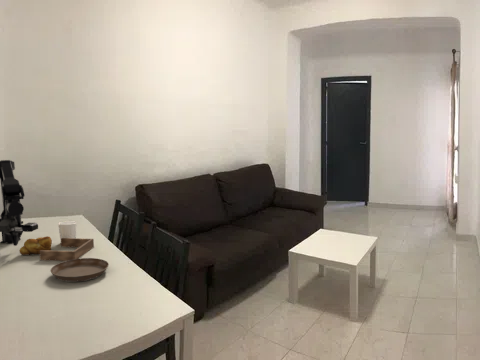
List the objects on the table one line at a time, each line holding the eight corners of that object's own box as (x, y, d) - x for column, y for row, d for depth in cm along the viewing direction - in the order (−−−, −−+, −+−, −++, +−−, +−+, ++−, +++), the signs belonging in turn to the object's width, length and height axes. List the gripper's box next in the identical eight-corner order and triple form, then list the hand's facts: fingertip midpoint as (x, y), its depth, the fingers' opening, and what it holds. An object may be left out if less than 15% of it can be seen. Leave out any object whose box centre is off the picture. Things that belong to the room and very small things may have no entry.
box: (40, 260, 164) (39, 251, 163) (62, 246, 183) (61, 238, 182) (75, 261, 163) (74, 251, 163) (93, 247, 182) (93, 238, 182)
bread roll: (19, 258, 166) (17, 240, 165) (20, 251, 175) (19, 234, 173) (52, 254, 172) (51, 236, 170) (52, 248, 180) (51, 231, 179)
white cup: (72, 245, 184) (71, 225, 183) (56, 245, 184) (55, 224, 183) (80, 240, 192) (79, 220, 190) (64, 240, 192) (63, 220, 191)
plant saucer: (91, 261, 164) (91, 253, 164) (119, 273, 151) (119, 265, 151) (41, 275, 148) (40, 267, 148) (67, 290, 135) (67, 281, 135)
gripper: (-21, 215, 164) (-18, 250, 166) (23, 215, 163) (25, 251, 165) (-3, 209, 175) (-1, 242, 177) (37, 210, 174) (39, 243, 176)
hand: (15, 245), depth 173 cm, fingers closed
